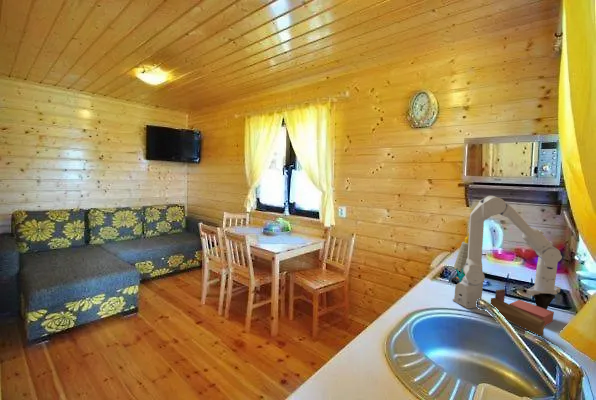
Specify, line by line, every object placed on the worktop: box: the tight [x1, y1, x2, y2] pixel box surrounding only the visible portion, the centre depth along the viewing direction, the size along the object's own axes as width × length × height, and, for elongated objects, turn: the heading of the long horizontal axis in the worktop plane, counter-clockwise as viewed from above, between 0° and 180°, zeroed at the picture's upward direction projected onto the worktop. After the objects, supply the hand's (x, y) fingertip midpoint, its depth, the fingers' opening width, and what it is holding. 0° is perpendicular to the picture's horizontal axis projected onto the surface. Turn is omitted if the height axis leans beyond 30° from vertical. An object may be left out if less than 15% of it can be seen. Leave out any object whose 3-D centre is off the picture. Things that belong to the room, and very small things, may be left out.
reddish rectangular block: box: [508, 299, 555, 327], centre depth 111 cm, size 8×11×4 cm
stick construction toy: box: [451, 268, 465, 283], centre depth 145 cm, size 12×7×8 cm
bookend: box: [494, 288, 506, 302], centre depth 116 cm, size 4×1×8 cm, turn 107°
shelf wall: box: [489, 297, 545, 337], centre depth 107 cm, size 2×18×5 cm, turn 17°
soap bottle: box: [453, 232, 469, 273], centre depth 161 cm, size 12×12×20 cm
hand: (541, 311), depth 113 cm, fingers closed
